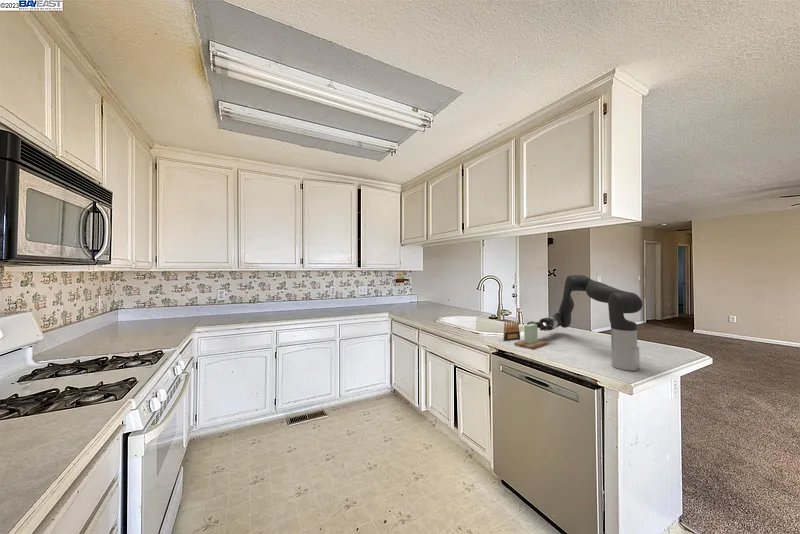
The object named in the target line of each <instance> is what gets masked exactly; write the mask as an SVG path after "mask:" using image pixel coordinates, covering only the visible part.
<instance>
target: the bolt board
mask: <svg viewBox="0 0 800 534" xmlns="http://www.w3.org/2000/svg"><path fill="white" fill-rule="evenodd" d="M513 345H514V346H516V347H519V348H524V349H528V350H533V351H535V350H538V349H540V348H543V347H546V346H549V341H545V340H544V341H543V340H540V339H539V340H538V342H535V343H532V344H527V343H525V339H522V340H518V341H516V342H514V343H513ZM537 348H538V349H537Z"/></svg>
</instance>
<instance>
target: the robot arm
mask: <svg viewBox="0 0 800 534" xmlns="http://www.w3.org/2000/svg"><path fill="white" fill-rule="evenodd" d="M572 292H586V296H588V297H589V298H590V299H592V300H595V301H596V302H601V303H605V304H607V306H608V318H609V323H610V339H611V341H610V342H611V343H610V345H611V346H610V347H611V349H610V350H611V366H612V368H613V367H614V368H615V369H618V370H623V371H630V372H631V371H633V372H636V371H637V370H640V367H641V366H640V347H639V345H638V327H637V326H638V325H637V323H636V322H634V321H631V320H628V319H626V318H625V314H636V313H639V312H640V311H641V310H642V309H643V301H642V298H641V297H640V296H639V295H638V294H636V293H635V292H630V291H626V290H621V289H619V288H615V287H614V286H610V285H608V284H605V283H603V282H599V281H597V280H593V279H592V278H590V277H588V276H586V275H583V274H576V275H575V274H573V275H572V274H571V275H567V277H566V279H565V282H564V287H563V293H562V300H561V303H560V306H559V309H558V311H557V312H556V313H554V314H553V315H552V316H548V317H544V318H540V320H539V321H529V322H528V321H527V323H526V325H528V324H537V329H539V331H542V332H543V331H545V332H547V331H552V330H555V329H557V328H559V327H561V328H563V329H566V328H568V327H570V325H571V323H572V312H573V310H574V307H575V303H574V300H573V298H572Z"/></svg>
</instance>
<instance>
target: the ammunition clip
mask: <svg viewBox="0 0 800 534" xmlns="http://www.w3.org/2000/svg"><path fill="white" fill-rule="evenodd" d="M503 324H504V326H503V342H512V341H521V331H520V325H519V320H512V321H511V320H510V321H508V320H507V321H504V323H503ZM511 340H512V341H511Z"/></svg>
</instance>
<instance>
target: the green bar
mask: <svg viewBox="0 0 800 534" xmlns="http://www.w3.org/2000/svg"><path fill="white" fill-rule="evenodd" d="M523 331H524V332H523V333H524V340H525V343H527V344H532V343H535V342H538V339H539V338H538V328H537V324H528V325H527V324H525V325H524V328H523Z"/></svg>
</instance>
